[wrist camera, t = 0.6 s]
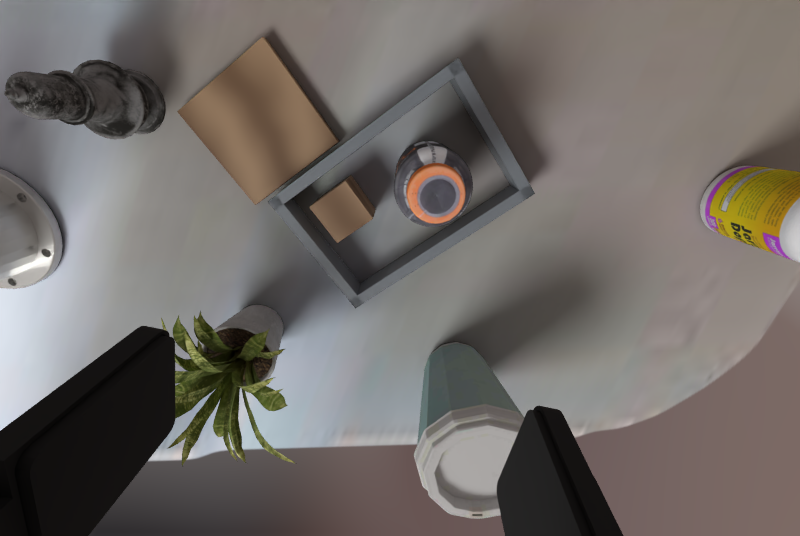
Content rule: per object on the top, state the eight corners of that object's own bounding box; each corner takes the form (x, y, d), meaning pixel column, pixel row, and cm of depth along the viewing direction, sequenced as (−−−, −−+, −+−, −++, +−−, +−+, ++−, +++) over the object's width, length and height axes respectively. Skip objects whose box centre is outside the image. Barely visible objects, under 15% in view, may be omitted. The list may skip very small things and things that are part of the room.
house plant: (354, 295, 41) (327, 398, 26) (314, 392, 46) (271, 529, 30) (222, 246, 39) (109, 327, 24) (195, 353, 44) (84, 478, 28)
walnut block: (343, 231, 38) (337, 243, 35) (318, 198, 37) (309, 207, 34) (375, 208, 38) (372, 218, 34) (351, 174, 36) (345, 181, 33)
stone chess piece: (113, 50, 33) (-37, 14, 21) (178, 92, 34) (68, 78, 23) (91, 112, 34) (-57, 108, 23) (154, 150, 36) (41, 164, 24)
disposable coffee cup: (412, 322, 42) (418, 422, 28) (509, 326, 42) (564, 427, 28) (407, 400, 46) (411, 523, 32) (497, 403, 46) (539, 526, 32)
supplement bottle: (681, 214, 38) (812, 258, 26) (730, 152, 36) (897, 168, 24) (732, 243, 39) (881, 298, 27) (783, 184, 37) (968, 215, 25)
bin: (358, 295, 41) (355, 308, 38) (277, 195, 37) (267, 201, 34) (524, 187, 37) (534, 193, 34) (453, 62, 33) (458, 57, 30)
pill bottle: (403, 133, 35) (404, 139, 24) (465, 148, 36) (493, 161, 25) (389, 196, 37) (384, 227, 27) (448, 210, 38) (466, 246, 27)
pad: (258, 202, 37) (255, 204, 36) (183, 111, 34) (177, 111, 33) (339, 141, 35) (338, 142, 34) (266, 39, 32) (262, 36, 31)
